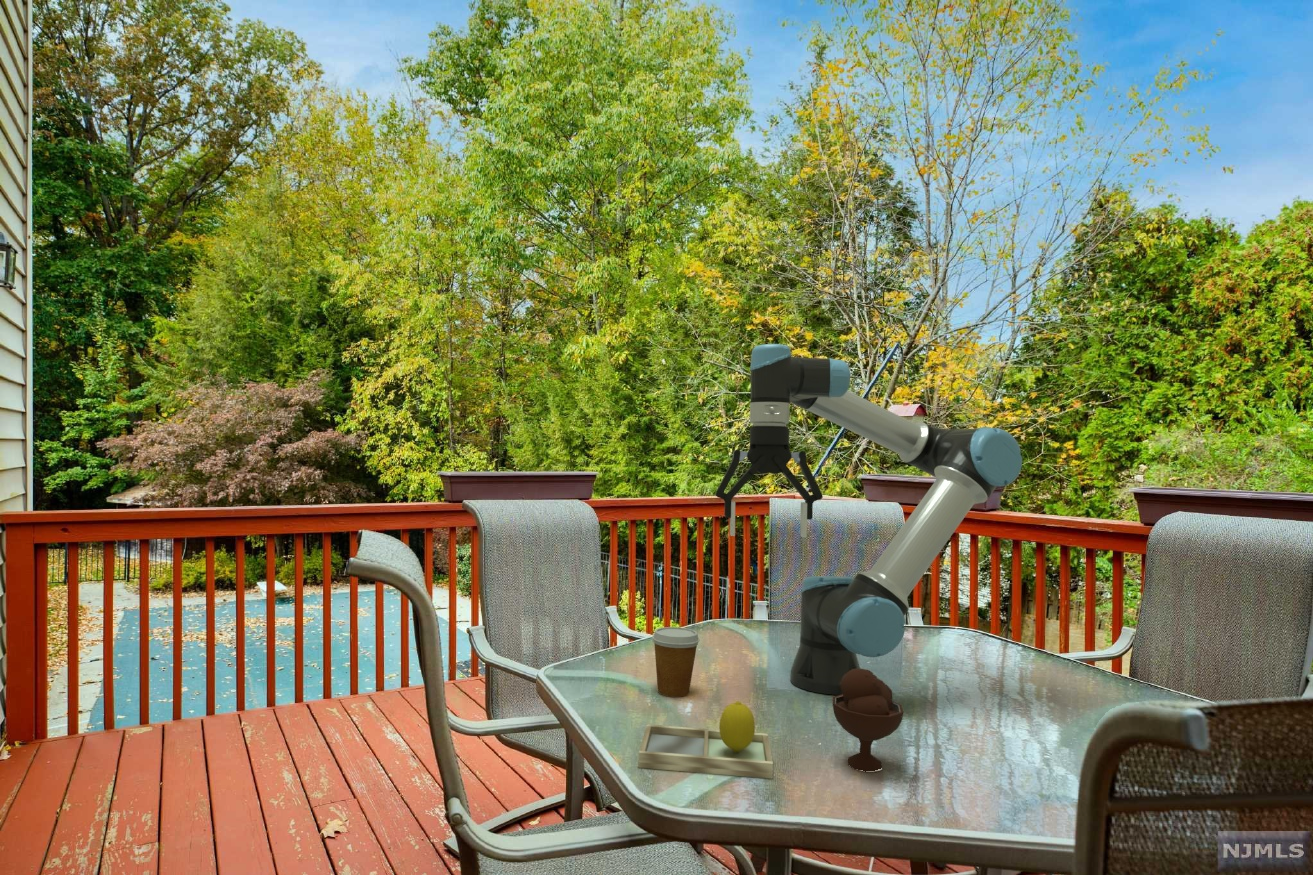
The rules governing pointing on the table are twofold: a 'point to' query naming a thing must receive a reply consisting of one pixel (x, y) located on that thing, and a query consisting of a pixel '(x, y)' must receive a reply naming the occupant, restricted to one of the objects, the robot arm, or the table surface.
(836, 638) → the robot arm
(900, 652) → the table surface
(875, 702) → the ice cream bowl
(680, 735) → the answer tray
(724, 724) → the lemon
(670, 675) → the disposable coffee cup
